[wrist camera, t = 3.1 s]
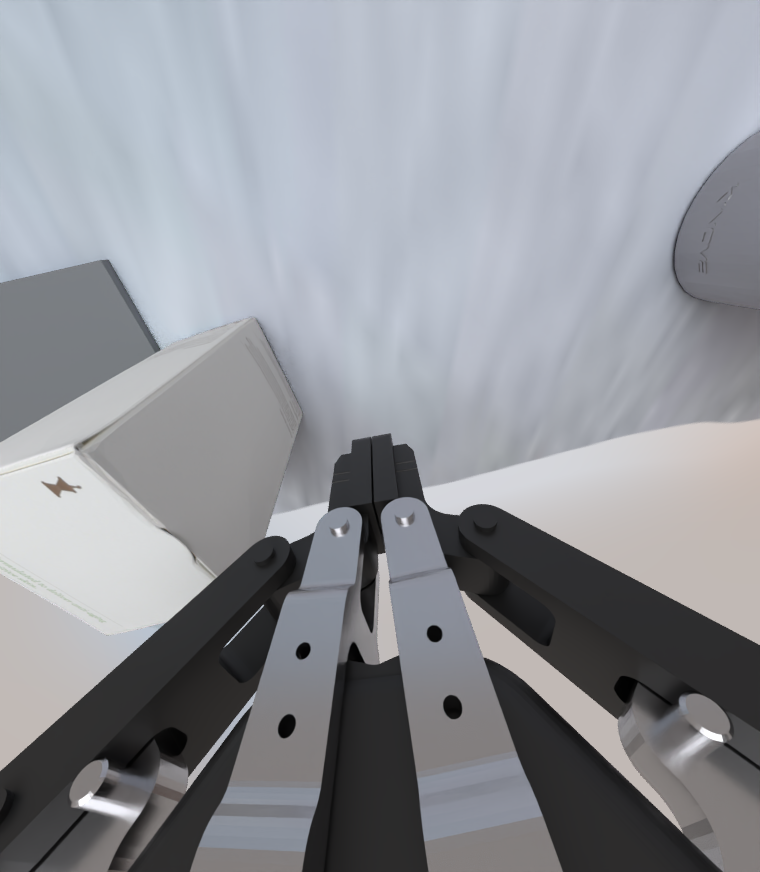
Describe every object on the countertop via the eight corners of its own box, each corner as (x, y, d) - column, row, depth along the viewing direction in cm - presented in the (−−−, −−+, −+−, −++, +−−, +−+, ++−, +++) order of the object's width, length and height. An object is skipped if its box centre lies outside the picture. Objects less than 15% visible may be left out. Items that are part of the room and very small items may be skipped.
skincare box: (174, 340, 21) (-150, 500, 8) (261, 311, 20) (63, 436, 7) (237, 437, 25) (97, 645, 12) (311, 417, 25) (245, 615, 11)
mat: (108, 259, 18) (100, 260, 18) (236, 482, 28) (234, 486, 27) (-123, 312, 19) (-136, 314, 19) (77, 508, 29) (72, 513, 28)
